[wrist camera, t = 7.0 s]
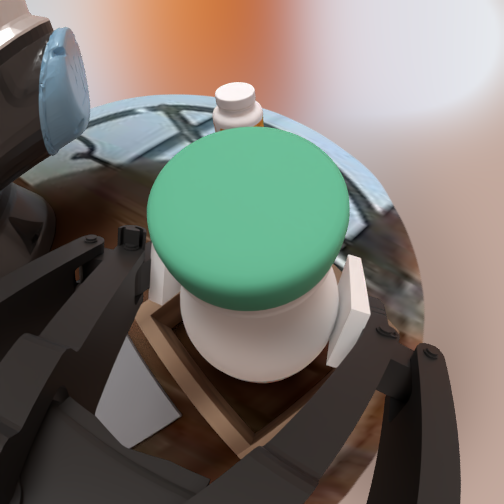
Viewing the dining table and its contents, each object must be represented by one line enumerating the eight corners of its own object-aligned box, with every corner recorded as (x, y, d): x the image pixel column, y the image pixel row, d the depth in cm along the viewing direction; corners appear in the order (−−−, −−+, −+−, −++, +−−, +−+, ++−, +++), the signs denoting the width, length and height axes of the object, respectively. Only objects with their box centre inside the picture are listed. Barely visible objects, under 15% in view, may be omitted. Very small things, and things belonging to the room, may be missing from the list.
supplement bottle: (274, 158, 33) (273, 91, 24) (237, 179, 32) (226, 111, 23) (247, 137, 35) (241, 74, 26) (213, 155, 34) (198, 91, 25)
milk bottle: (206, 319, 25) (75, 156, 7) (283, 283, 26) (301, 72, 8) (243, 397, 21) (136, 445, 4) (324, 356, 23) (477, 255, 5)
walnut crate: (154, 326, 25) (131, 312, 20) (272, 236, 28) (272, 206, 24) (252, 451, 19) (248, 467, 15) (377, 342, 23) (399, 331, 18)
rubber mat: (30, 363, 23) (27, 362, 22) (107, 297, 26) (104, 295, 26) (85, 472, 18) (82, 473, 17) (182, 415, 21) (180, 415, 20)
